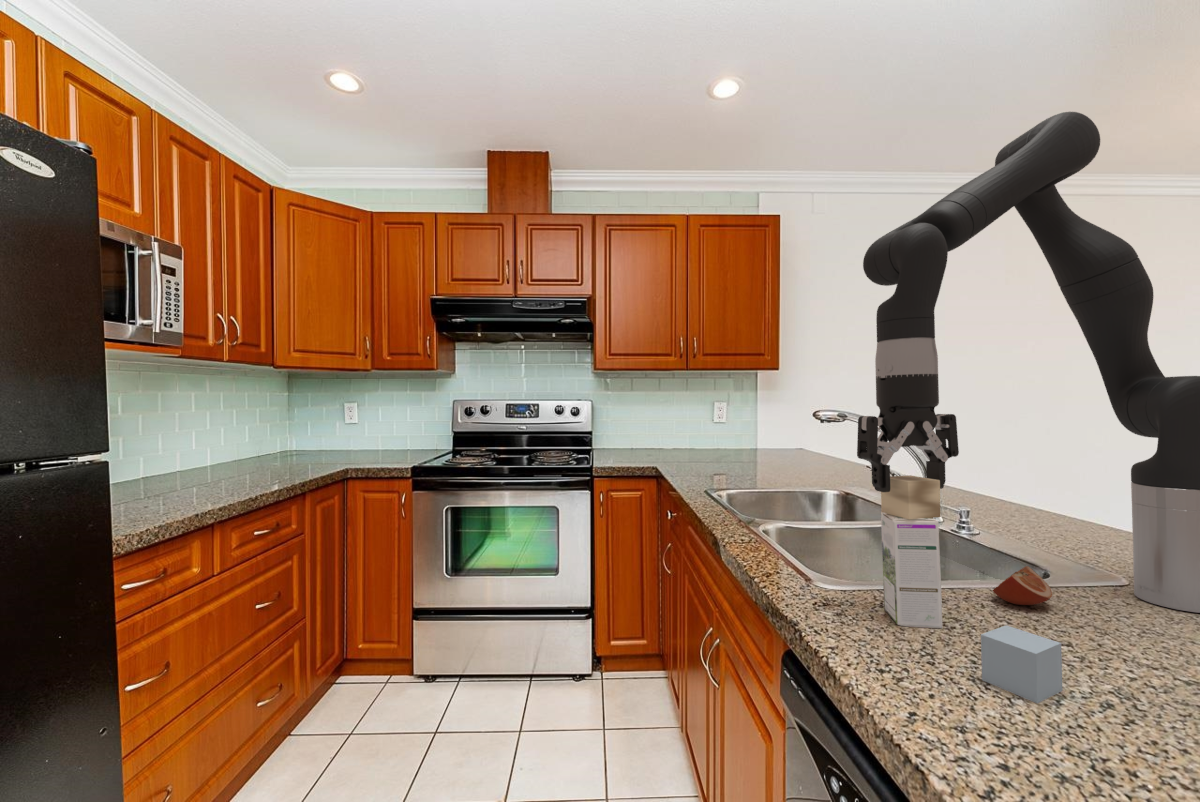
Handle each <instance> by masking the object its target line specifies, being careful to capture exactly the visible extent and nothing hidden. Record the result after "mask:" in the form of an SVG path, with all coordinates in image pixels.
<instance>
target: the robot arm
mask: <svg viewBox="0 0 1200 802" xmlns="http://www.w3.org/2000/svg"><path fill="white" fill-rule="evenodd" d="M1100 147H1101V134H1100V132H1099V128H1098V127H1097V125H1096V124H1095V123H1094V121H1093V120H1092V119H1091V118H1090V117H1089V116H1087V115H1085V114H1084V113H1080V112H1077V111H1065V112H1061V113H1057V114H1054V115H1052V116H1049V117H1047V118H1046V119H1045V120H1043V121H1040V122H1039V123H1038V124H1036V125H1034V126H1033V127H1032V128H1029V130H1027V131H1025V132H1024V133H1022V134H1021V135H1019V136H1017V138H1015V139H1013V140H1012V141H1010V142H1009V143H1007V144H1006V145H1004V146H1003V147H1002V148H1001V149H1000V150H999V151H998V153H997V155H996V157H995V160H994V166H993V167H991V168H990V169H988V170H986V171H984V172H983V173H981V174H980V175H978V176H976V177H974V178H973V179H971V180H969V181H968V182H966V183H964V184H963V185H961V186H959V187H958V188H956V189H955V190H952V191H951V192H950V193H948V194H946V196H944V197H943V198H941V199H940V200H939V201H937V202H936V203H934V204H933V205H931V206H930V207H929V208H927V209H926V210H925V211H924V212H922V213H921V214H919V215H918V216H916V217H915V218H912V219H911V220H909V221H907V222H905V223H903V224H902V225H900V226H898V227H896V228H894V229H893V230H890V231H889V232H887V233H886V234H884V235H882V236H880V237H879V238H878V239H876V240H875V241H874V242H872V244H871V245H869V247H868V248H867V250H866V252H865V254H864V257H863V261H862V269H863V272H864V274H865V276H866V277H867V278H868V279H869V281H871V282H872V283H874V284H876V285H880V286H886V287H889V286H895V285H896V286H895V290H894V292H893V294H892V295H891V296H889V298H888V299H885V300H884V301H883V302H882V303H881V304H879V306H878V307H877V310H876V319H875V320H876V351H875V357H874V358H875V361H874V362H875V366H874V367H875V400H876V406H877V407H878V408H879V414H878V416H873V415H861V416H859V417H858V420H857V443H856V445H857V446H856V455H857V458H858V459H860V460H864V461H867V462H869V464H870V465H871V484H872V487H874V489H875V491H876V492H880V493H881V492H890V476H891V466H890V464H888V463H889V462H890V460H891V459H892V457H893V456H894V454H895V453H897V452H899V451H900V449H901V448H902V447H904V448H905V447H908V448H909V447H912V446H913V447H916V448H917V449H919V450H921V452H922V453H923V454H924V456H925V458H926V459H927V461H926V462H925V465H926V467H925V468H926V471H925V472H926V475H925V476H926V478H929V479H936V480H940V490H941V489H944V486H945V484H946V480H947V479H946V462H947V461H948V460H949V459H950V458H952V457H953V458H954V457H955V458H956V457H958V456H959V453H960V452H959V451H960V449H959V439H958V437H959V436H958V426H957V425H958V424H957V416H956V415H955V414H954V413H953V414H952V413H935V408H936V407H938V406H939V404H940V395H939V393H940V391H939V387H940V386H939V358H938V357H939V355H938V350H937V345H936V325H935V323H936V322H935V321H936V320H935V308H936V305H937V301H938V298H939V294H940V291H941V287H942V284H943V281H944V280H943V279H944V277H945V271H946V267H947V264H948V257H949V256H948V254H949V252H951V251H954V250H955V249H957V248H959V247H961V246H962V245H964V244H965V243H966V242H968V241H970V239H971V240H972V238H974V237H975V236H976V235H978V234H979V233H981V232H982V231H983V230H984V229H986V228H987V227H988V226H990V225H992V223H994V222H995V221H996V220H998V219H999V218H1000V217H1001V216H1003V215H1004V214H1006V213H1007V212H1008V211H1010V210H1011V209H1013V208H1015V210H1016V212H1017V213H1018V215H1020V217H1021V219H1022V220H1023V222H1024V223H1025V224H1026V227H1027V228H1028V230H1029V231H1030V233H1031V234H1032V235H1033V237H1034V239H1035V241H1036V243H1037V244H1038V247H1039V249H1041V251H1042V254H1043V255H1044V257H1045V260H1046V261H1047V264H1048V266H1049V267H1050V269H1051V272H1052V273H1053V275H1054V278H1055V280H1056V282H1057V285H1058V287H1059V289H1060V292H1061V293H1062V295H1063V297H1064V299H1065V302H1066V303H1067V305H1068V307H1069V309H1070V310H1071V312H1072V313H1073V316H1074V317H1075V320H1076V321H1077V323H1078V325H1079V327H1080V329H1081V331H1082V334H1083V337H1084V338H1085V340H1086V342H1087V344H1088V347H1089V349H1090V351H1091V352H1092V353H1091V354H1092V355H1093V357H1094V359H1095V363H1096V364H1097V367H1098V370H1099V373H1100V375H1101V378H1102V381H1103V384H1104V386H1105V387H1104V388H1105V390H1106V393H1107V396H1108V399H1109V402H1110V405H1111V408H1112V410H1113V412H1114V414H1115V416H1116V418H1117V420H1118V421H1119V423H1120V424H1121V425H1122V426H1123V427H1124V428H1125V429H1126V430H1128V431H1129V432H1131V433H1132V434H1135V435H1137V436H1140V437H1145V438H1156V439H1157V447H1156V452H1155V453H1154V454H1153V455H1152V456H1151V457H1150V458H1147V459H1144V460H1142V461H1138V462H1135V463H1134V464H1133V465H1132V466H1131V468H1130V481H1131V482H1130V488H1131V516H1132V517H1131V518H1132V519H1131V520H1132V521H1131V524H1132V562H1133V566H1132V567H1133V569H1132V570H1133V571H1132V572H1133V594H1134V596H1135V597H1136V598H1138V599H1140V600H1142V601H1145V602H1147V603H1151V604H1152V605H1153V604H1154V605H1156V606H1157V605H1158V606H1161V607H1165V608H1169V609H1173V610H1178V611H1184V612H1191V613H1198V614H1200V375H1182V376H1177V375H1176V376H1165V375H1164V373H1163V372H1162V371H1161V369H1160V368H1159V365H1158V363H1157V361H1156V360H1155V357H1154V356H1153V354H1152V351H1151V349H1150V345H1149V339H1148V338H1149V335H1148V333H1149V326H1150V321H1151V316H1152V311H1153V304H1154V287H1153V284H1152V282H1151V279H1150V276H1149V275H1148V273H1147V271H1146V269H1145V267H1144V265H1143V263H1142V261H1141V259H1140V257H1139V255H1138V253H1137V251H1136V250H1135V248H1134V247H1133V246H1132V245H1131V244H1130V243H1129V242H1127V240H1124V239H1123V238H1122V237H1119V236H1117V235H1116V234H1114V233H1112V232H1111V231H1108V230H1107V229H1105V228H1102V227H1100V226H1098V225H1096V224H1094V223H1092V222H1090V221H1088V220H1086V219H1084V218H1083V217H1081V216H1079V215H1078V214H1076V213H1075V212H1074V211H1073V210H1072V209H1071V208H1070V207H1069V206H1068V204H1067V203H1066V202H1065V200H1064V198H1063V197H1062V196H1061V195H1060V192H1059V191H1058V188H1057V187H1056V184H1059V183H1060V182H1062V181H1065V180H1066V179H1068V178H1070V177H1072V176H1073V175H1075V174H1077V173H1079V172H1080V171H1082V170H1083V169H1084V168H1086V167H1087V166H1088V165H1090V163H1091V162H1092V161H1094V159H1095V158H1096V156H1097V155H1098V153H1099V149H1100ZM880 430H881V432H880V433H879V431H880ZM878 434H879V435H878ZM947 446H948V447H947Z"/></svg>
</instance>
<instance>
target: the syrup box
mask: <svg viewBox="0 0 1200 802" xmlns="http://www.w3.org/2000/svg"><path fill="white" fill-rule="evenodd" d="M880 518H881V521H880V523H881V528H880V529H881V548H882V551H881V552H882V586H883V610H884V611H885V612H886V613H887V614H888V615H889V617H890V618H891V619H892V620H893V622H895V624H896V625H898V626H901V627H910V628H924V629H925V628H926V629H927V628H928V629H943V604H942V579H941V578H942V577H941V554H940V553H941V552H940V551H941V550H940V533H939V531H940V529H939V520H937V519H936V518H921V519H906V518H902V517H898V516H895V515H891V514H887V513H884V512H881V513H880Z"/></svg>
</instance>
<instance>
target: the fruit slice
mask: <svg viewBox="0 0 1200 802" xmlns="http://www.w3.org/2000/svg"><path fill="white" fill-rule="evenodd" d="M992 592H993V593H994V594H995V595H996V596H997V597H999V598H1000V599H1001V600H1003V601H1004V602H1007V603H1010V604H1013V605H1018V606H1033V605H1038V604H1039V605H1040V604H1042V603H1045V602H1047V601H1048V600H1049V599H1051V598H1052V597H1053V591H1052V588H1051V587H1050V585H1049V584H1048V583H1047V582H1046V581H1045V580H1044V579H1043V578H1042V576H1040V575H1039V574H1038V573H1036V572H1035V570H1033V568H1031V567H1030V566H1029V565H1027V566H1026V565H1025V566H1024V567H1022V568H1020V569H1019V570H1018V571H1015V572H1014V573H1013V574H1011V575H1009V577H1007V578H1006V579H1004V580H1003V581H1002V582H1001V583H999V584H998V586H996V587H995V588H993V590H992Z"/></svg>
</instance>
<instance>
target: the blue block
mask: <svg viewBox="0 0 1200 802" xmlns="http://www.w3.org/2000/svg"><path fill="white" fill-rule="evenodd" d="M980 653H981V655H980V656H981V681H983V682H985V683H987V684H990V685H992V686H995V687H996V688H1000V689H1001V690H1003V691H1007V692H1009V693H1012V694H1013V695H1015V696H1019V697H1021V698H1023V699H1025V700H1028V701H1030V702H1033V703H1035V704H1040V703H1042V702H1043V701H1045V700H1047V699H1049V698H1051V697H1053V696H1055V695H1057V694H1059V693H1060V692H1063V656H1062V653H1063V652H1062V642H1060V641H1055V640H1053V639H1050V638H1046V637H1044V636H1040V635H1037V634H1035V633H1032V632H1028V631H1025V630H1022V629H1019V628H1016V627H1013V626H1009V625H1003V626H1001V627H997V628H995V629H992V630H989V631H986V632H984V633H981V634H980Z"/></svg>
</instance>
